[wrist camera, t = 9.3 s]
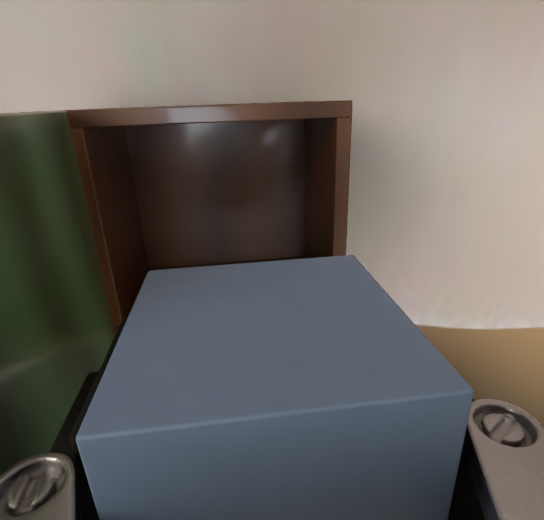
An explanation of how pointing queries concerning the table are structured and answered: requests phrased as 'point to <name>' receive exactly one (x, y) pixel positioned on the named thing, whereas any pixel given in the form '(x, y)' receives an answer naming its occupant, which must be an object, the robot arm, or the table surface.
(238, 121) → the chest
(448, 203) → the table surface
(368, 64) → the table surface
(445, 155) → the table surface
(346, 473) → the block
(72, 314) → the lid
